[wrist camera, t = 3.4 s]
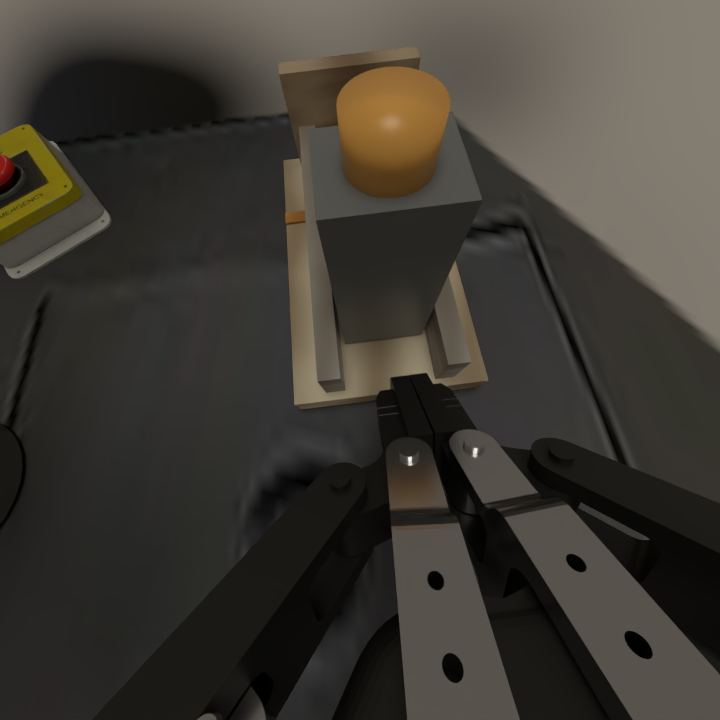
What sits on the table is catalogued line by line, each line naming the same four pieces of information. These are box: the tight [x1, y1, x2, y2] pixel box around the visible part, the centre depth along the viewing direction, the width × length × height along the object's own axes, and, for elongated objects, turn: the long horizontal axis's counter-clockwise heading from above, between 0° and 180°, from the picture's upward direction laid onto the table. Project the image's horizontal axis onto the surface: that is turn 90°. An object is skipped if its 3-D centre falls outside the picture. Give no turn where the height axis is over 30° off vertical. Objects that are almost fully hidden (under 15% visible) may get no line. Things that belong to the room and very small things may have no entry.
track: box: [279, 46, 488, 409], centre depth 18 cm, size 12×21×8 cm, turn 7°
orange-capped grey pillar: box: [308, 67, 482, 344], centre depth 13 cm, size 5×4×12 cm
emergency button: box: [0, 125, 112, 279], centre depth 24 cm, size 9×4×15 cm
